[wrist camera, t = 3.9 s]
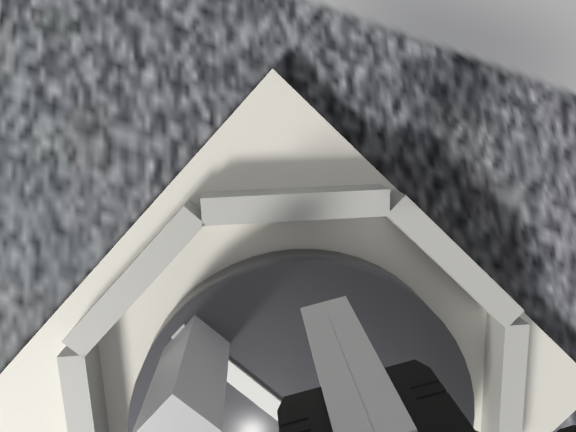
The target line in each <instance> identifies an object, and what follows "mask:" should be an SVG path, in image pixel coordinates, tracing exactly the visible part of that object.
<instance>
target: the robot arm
mask: <svg viewBox="0 0 576 432" xmlns="http://www.w3.org/2000/svg"><path fill="white" fill-rule="evenodd" d="M300 309H301V313H302V317H303V321H304V325H305V328H306V332H307V336H308V340H309V344H310V348H311V351H312V355H313V359H314V363H315V367H316V370H317V374H318V378H319V382H320V386H321V387H317V388H314V389H310V390H306V391H303V392H299V393H295V394H292V395H288V396H284V397H283V399H282V401H281V404H280V406H279V408H278V410H277V415H278V426H279V432H479V431H476V430H475V429H474V428H473V426H472V425H471V424H470V422H469V421H468V419H467V418H466V417H465V415H464V414H463V413H462V411H461V410H460V408H459V407H458V406H457V404H456V403H455V401H454V400H453V399H452V397H451V396H450V394H449V393H447V391H446V389H445V387H444V386H443V385H442V383H441V382H440V381H439V379H438V378H437V376H436V375H435V374H434V372H433V371H432V369H431V368H430V367H428V366H426V365H425V364H423V363H421V362H419V361H417V360H415V359H414V360H411V361H407V362H403V363H400V364H396V365H392V366H389V367H385V368H384V367H383V365H382V363H381V361H380V359H379V357H378V355H377V353H376V352H375V350H374V348H373V346H372V344H371V342H370V340H369V339H368V337H367V335H366V333H365V331H364V329H363V327H362V325H361V324H360V322H359V320H358V318H357V316H356V314H355V312H354V311H353V309H352V307H351V305H350V303H349V301H348V299H347V297H346V296H343V297H339V298H336V299H332V300H328V301H324V302H321V303H317V304H313V305H310V306H306V307H302V308H300ZM557 432H576V425H572V426H569V427H566V428H563V429H560V430H558V431H557Z"/></svg>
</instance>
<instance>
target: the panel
mask: <svg viewBox="0 0 576 432" xmlns="http://www.w3.org/2000/svg"><path fill="white" fill-rule="evenodd" d="M290 249H321V250H328V251H335V252H341V253H344V254H348V255H352V256H355V257H359V258H361V259H364V260H366V261H368V262H371V263H373V264H376V265H378V266H380V267H381V268H383V269H385V270H386V271H388V272H390V273H391V274H393V275H395V276H396V277H397V278H399V279H400V280H401V281H402V282H404V283H405V284H406V285H408V286H409V287H410V288H411V289H412V290H413V291H414V292H415V293H416V294H417V295H418V296H419V297H420V298H421V299H422V300H423V301H424V302H425V304H426V305H427V306H428V307H429V308H430V309H431V310H432V311H433V312H434V313H435V314H436V315H437V316H438V317H439V318H440V319H441V320H442V322H443V323H444V324H445V325H446V327H447V328H448V330H449V331H450V333H451V334H452V335H453V337H454V338H455V340H456V342H457V344H458V346H459V348H460V350H461V352H462V354H463V356H464V358H465V361H466V364H467V367H468V370H469V373H470V376H471V381H472V387H473V393H474V411H475V418H474V426H473V428H474V429H475V430H476V431H479V432H553V431H554V430H555V429H556V428H557V427H558V426H559V425H560V424H561V423H562V422H563V421H564V420H566V419H567V418H568V417H569V416H570V415H571V414H572V413H573V412H574V411H575V410H576V363H575V362H574V361H573V360H572V359H571V358H570V357H569V356H568V355H567V354H566V353H565V352H564V351H563V350H562V349H561V348H560V347H559V346H558V345H557V344H556V343H555V342H554V341H553V340H552V339H551V338H550V337H549V336H548V335H547V334H546V333H545V332H544V331H542V330H541V329H540V328H539V327H538V326H537V325H536V324H535V323H534V322H533V321H532V320H531V319H530V318H529V317H528V316H527V315H526V314H525V313H524V311H525V310H524V309H523V308H522V307H521V306H520V305H518V304H517V303H516V302H515V301H514V300H513V299H512V298H511V297H510V296H509V295H508V294H507V293H506V292H505V291H504V290H503V289H502V288H501V287H500V286H499V285H498V284H497V283H496V282H495V281H494V280H493V279H492V278H491V277H490V276H489V275H488V274H487V273H486V272H485V271H484V270H482V269H481V268H480V267H479V266H478V265H477V264H476V263H475V262H474V261H473V260H472V259H471V258H470V257H469V256H468V255H467V254H466V253H465V252H464V251H463V250H462V249H461V248H460V247H459V246H458V245H457V244H456V243H455V242H454V241H453V240H452V239H451V238H450V237H449V236H448V235H446V234H445V233H444V232H443V231H442V230H441V229H440V228H439V227H438V226H437V225H436V224H435V223H434V222H433V221H432V220H431V219H430V218H429V217H428V216H427V215H426V214H425V213H424V212H423V211H422V210H421V209H420V208H419V207H418V206H417V205H416V204H415V203H414V202H413V201H412V200H410V199H409V198H408V197H407V196H406V195H405V194H403V193H401V192H399V191H398V190H397V189H396V188H395V187H394V186H393V185H392V184H391V183H390V182H389V181H388V180H387V179H386V178H385V177H384V176H383V175H382V174H381V173H380V172H379V171H378V170H377V169H376V168H375V167H374V166H372V165H371V164H370V163H369V162H368V161H367V160H366V159H365V158H364V157H363V156H362V155H361V154H360V153H359V152H358V151H357V150H356V149H355V148H354V147H353V146H352V145H351V144H350V143H349V142H348V141H347V140H346V139H345V138H344V137H343V136H342V135H341V134H340V133H338V132H337V131H336V130H335V129H334V128H333V127H332V126H331V125H330V124H329V123H328V122H327V121H326V120H325V119H324V118H323V117H322V116H321V115H320V114H319V113H318V112H317V111H316V110H315V109H314V108H313V107H312V106H311V105H310V104H309V103H308V102H307V101H306V100H304V99H303V98H302V97H301V96H300V95H299V94H298V93H297V92H296V91H295V90H294V89H293V88H292V87H291V86H290V85H289V84H288V83H287V82H286V81H285V80H284V79H283V78H282V77H281V76H280V75H279V74H278V73H277V72H276V71H275V70H274V69H272V70H271V71H270V72H269V73H268V74H267V75H266V77H265V78H264V79H263V80H262V81H261V82H260V83H259V84H258V85H257V87H256V88H255V89H254V90H253V91H252V92H251V93H250V94H249V96H248V97H247V98H246V99H245V100H244V101H243V102H242V103H241V105H240V106H239V107H238V108H237V109H236V110H235V111H234V112H233V114H232V115H231V116H230V117H229V118H228V119H227V120H226V121H225V123H224V124H223V125H222V126H221V127H220V128H219V129H218V130H217V131H216V133H215V134H214V135H213V136H212V137H211V138H210V139H209V140H208V142H207V143H206V144H205V145H204V146H203V147H202V148H201V149H200V151H199V152H198V153H197V154H196V155H195V156H194V157H193V158H192V160H191V161H190V162H189V163H188V164H187V165H186V166H185V167H184V168H183V170H182V171H181V172H180V173H179V174H178V175H177V176H176V177H175V179H174V180H173V181H172V182H171V183H170V184H169V185H168V186H167V188H166V189H165V190H164V191H163V192H162V193H161V194H160V195H159V197H158V198H157V199H156V200H155V201H154V202H153V203H152V204H151V206H150V207H149V208H148V209H147V210H146V211H145V212H144V213H143V214H142V216H141V217H140V218H139V219H138V220H137V221H136V222H135V223H134V225H133V226H132V227H131V228H130V229H129V230H128V231H127V232H126V234H125V235H124V236H123V237H122V238H121V239H120V240H119V241H118V243H117V244H116V245H115V246H114V247H113V248H112V249H111V250H110V251H109V253H108V254H107V255H106V256H105V257H104V258H103V259H102V260H101V262H100V263H99V264H98V265H97V266H96V267H95V268H94V269H93V271H92V272H91V273H90V274H89V275H88V276H87V277H86V278H85V280H84V281H83V282H82V283H81V284H80V285H79V286H78V287H77V289H76V290H75V291H74V292H73V293H72V294H71V295H70V296H69V297H68V299H67V300H66V301H65V302H64V303H63V304H62V305H61V306H60V308H59V309H58V310H57V311H56V312H55V313H54V314H53V315H52V317H51V318H50V319H49V320H48V321H47V322H46V323H45V324H44V326H43V327H42V328H41V329H40V330H39V331H38V332H37V333H36V335H35V336H34V337H33V338H32V339H31V340H30V341H29V342H28V343H27V345H26V346H25V347H24V348H23V349H22V350H21V351H20V352H19V354H18V355H17V356H16V357H15V358H14V359H13V360H12V361H11V363H10V364H9V365H8V366H7V367H6V368H5V369H4V370H3V372H2V373H1V374H0V432H128V425H127V424H128V415H129V406H130V401H131V397H132V393H133V389H134V385H135V382H136V379H137V377H138V375H139V372H140V370H141V368H142V365H143V363H144V361H145V358H146V356H147V354H148V352H149V349H150V347H151V345H152V342H153V340H154V338H155V336H156V334H157V333H158V331H159V329H160V328H161V326H162V324H163V323H164V321H165V319H166V318H167V317H168V316H169V314H170V313H171V312H172V311H173V309H174V308H175V307H176V306H177V304H178V303H179V302H180V301H181V300H182V299H183V298H184V297H186V296H187V295H188V294H189V293H190V292H191V291H192V290H193V289H194V288H195V287H197V286H198V285H199V284H201V283H202V282H204V281H205V280H206V279H208V278H209V277H210V276H212V275H214V274H215V273H217V272H219V271H221V270H223V269H225V268H226V267H228V266H230V265H232V264H235V263H237V262H240V261H242V260H245V259H248V258H250V257H253V256H257V255H261V254H265V253H269V252H273V251H281V250H290Z"/></svg>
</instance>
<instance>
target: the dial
mask: <svg viewBox="0 0 576 432" xmlns="http://www.w3.org/2000/svg"><path fill="white" fill-rule="evenodd" d="M343 296H346V297H347V299H348V301H349V303H350V305H351V307H352V309H353V311H354V312H355V314H356V316H357V318H358V320H359V322H360V324H361V325H362V327H363V329H364V331H365V333H366V335H367V337H368V339H369V340H370V342H371V344H372V346H373V348H374V350H375V352H376V353H377V355H378V357H379V359H380V361H381V363H382V365H383V367H384V368H385V367H389V366H392V365H396V364H400V363H403V362H407V361H411V360H414V359H415V360H417V361H419V362H421V363H423V364H425V365H426V366H428V367H430V368H431V369H432V371H433V372H434V374H435V375H436V376H437V378H438V379H439V381H440V382H441V383H442V385H443V386H444V387H445V389H446V391H447V393H449V394H450V396H451V397H452V399H453V400H454V401H455V403H456V404H457V406H458V407H459V408H460V410H461V411H462V413H463V414H464V415H465V417H466V418H467V419H468V421H469V422H470V424H471V425H472V426H474V418H475V411H474V393H473V387H472V381H471V376H470V373H469V370H468V367H467V364H466V361H465V358H464V356H463V354H462V352H461V350H460V348H459V346H458V344H457V342H456V340H455V338H454V337H453V335H452V334H451V333H450V331H449V330H448V328H447V327H446V325H445V324H444V323H443V322H442V320H441V319H440V318H439V317H438V316H437V315H436V314H435V313H434V312H433V311H432V310H431V309H430V308H429V307H428V306H427V305H426V304H425V302H424V301H423V300H422V299H421V298H420V297H419V296H418V295H417V294H416V293H415V292H414V291H413V290H412V289H411V288H410V287H409V286H408V285H406V284H405V283H404V282H402V281H401V280H400V279H399V278H397V277H396V276H395V275H393V274H391V273H390V272H388V271H386V270H385V269H383V268H381V267H380V266H378V265H376V264H373V263H371V262H368V261H366V260H364V259H361V258H359V257H355V256H352V255H348V254H344V253H341V252H335V251H328V250H321V249H290V250H281V251H273V252H269V253H265V254H261V255H257V256H253V257H250V258H248V259H245V260H242V261H240V262H237V263H235V264H232V265H230V266H228V267H226V268H225V269H223V270H221V271H219V272H217V273H215V274H214V275H212V276H210V277H209V278H208V279H206V280H205V281H204V282H202V283H201V284H199V285H198V286H197V287H195V288H194V289H193V290H192V291H191V292H190V293H189V294H188V295H187V296H186V297H184V298H183V299H182V300H181V301H180V302H179V303H178V304H177V306H176V307H175V308H174V309H173V311H172V312H171V313H170V314H169V316H168V317H167V318H166V319H165V321H164V323H163V324H162V326H161V328H160V329H159V331H158V333H157V334H156V336H155V338H154V340H153V342H152V345H151V347H150V349H149V352H148V354H147V356H146V358H145V361H144V363H143V365H142V368H141V370H140V372H139V375H138V377H137V379H136V382H135V385H134V389H133V393H132V397H131V401H130V406H129V415H128V424H127V425H128V432H279V426H278V415H277V410H278V408H279V406H280V404H281V401H282V399H283V397H284V396H288V395H292V394H295V393H299V392H303V391H306V390H310V389H314V388H317V387H321V386H320V382H319V378H318V374H317V370H316V367H315V363H314V359H313V355H312V351H311V348H310V344H309V340H308V336H307V332H306V328H305V325H304V321H303V317H302V313H301V309H300V308H302V307H306V306H310V305H313V304H317V303H321V302H324V301H328V300H332V299H336V298H339V297H343Z"/></svg>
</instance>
